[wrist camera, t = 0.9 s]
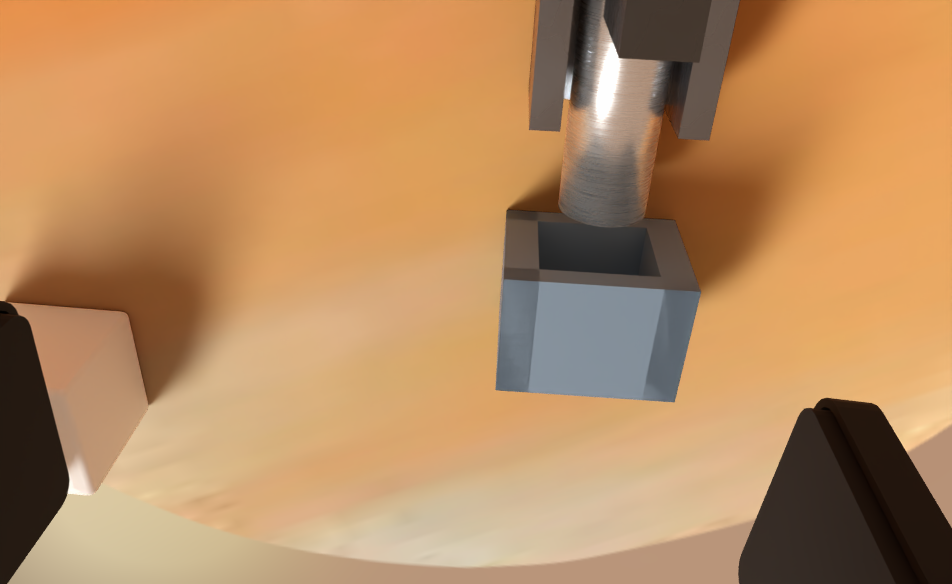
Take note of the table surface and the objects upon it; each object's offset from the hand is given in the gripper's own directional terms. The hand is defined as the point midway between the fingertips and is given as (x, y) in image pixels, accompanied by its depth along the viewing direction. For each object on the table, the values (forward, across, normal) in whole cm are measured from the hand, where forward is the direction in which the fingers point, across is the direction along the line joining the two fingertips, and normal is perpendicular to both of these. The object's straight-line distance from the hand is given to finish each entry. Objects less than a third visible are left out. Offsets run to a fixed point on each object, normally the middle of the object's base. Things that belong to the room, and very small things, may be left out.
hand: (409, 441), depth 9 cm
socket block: (+27, -6, +12) cm, 30 cm away
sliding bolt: (+25, -5, 0) cm, 26 cm away
